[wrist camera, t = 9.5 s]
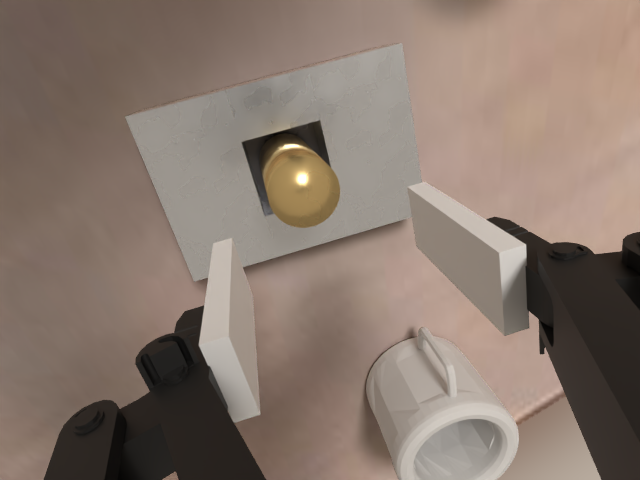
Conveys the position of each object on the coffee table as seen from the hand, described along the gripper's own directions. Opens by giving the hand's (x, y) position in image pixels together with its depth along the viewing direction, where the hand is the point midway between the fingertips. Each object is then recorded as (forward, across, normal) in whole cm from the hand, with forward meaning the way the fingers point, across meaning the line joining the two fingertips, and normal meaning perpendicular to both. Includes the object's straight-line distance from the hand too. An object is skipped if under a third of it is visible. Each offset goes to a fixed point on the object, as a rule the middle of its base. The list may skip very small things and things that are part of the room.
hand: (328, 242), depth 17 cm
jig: (+17, 0, 0) cm, 17 cm away
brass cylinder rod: (+17, 0, 0) cm, 17 cm away
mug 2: (+17, +7, -24) cm, 30 cm away
